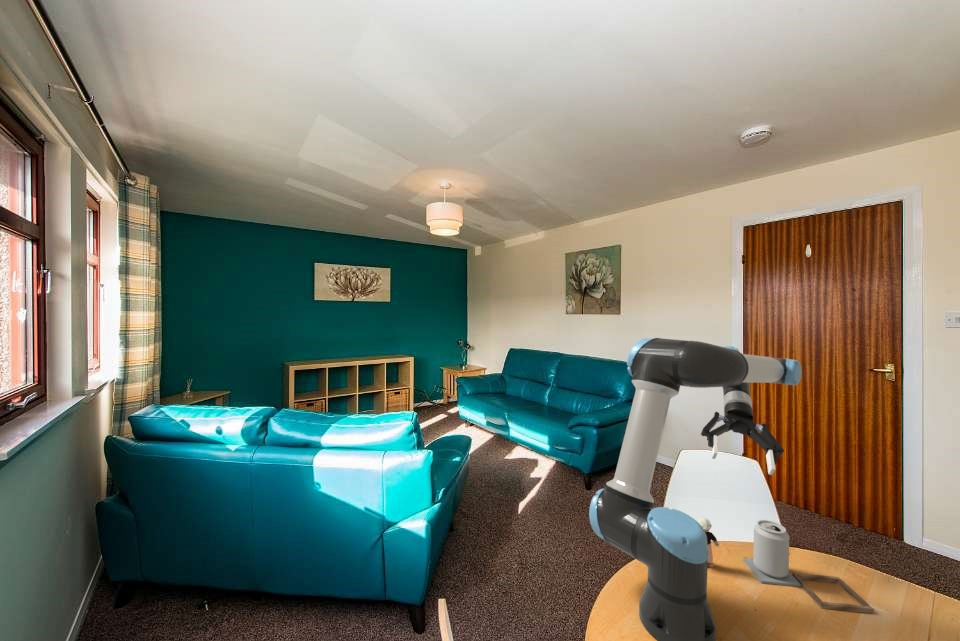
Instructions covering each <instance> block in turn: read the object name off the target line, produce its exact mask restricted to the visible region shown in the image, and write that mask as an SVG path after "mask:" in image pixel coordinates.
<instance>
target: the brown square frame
mask: <svg viewBox="0 0 960 641" xmlns="http://www.w3.org/2000/svg"><path fill="white" fill-rule="evenodd" d="M791 574H792V575H793V576H794V577H795V579H796V580H797V581H798V582H799V583H800V584H801V588H802V589H803V590H804V591H805V593H806V594H808V595H809V597H811V599H812V600H813V601H814V602H815V603H816V604H817V605H818V606H819V607H820V608H821V609H828V610H837V611H838V610H839V611H848V612H856V613H857V612H858V613H867V614H868V613H869V614H875V612H874V611H875V608H874V607H872V606H871V605H870V604H869V603H868V602H867V601H866V600H864V598H862V597H861V596H860V595H859V594H858V593H857V592H856V591H855V590H854V589H853V588H852V587H850V586H849V585H848V584H847V583H846V582H845V581H844V580H843V579H842V578H841V577H839V576H833V575H821V574H812V573H811V574H810V573H798V572H792V573H791ZM805 580H807V581H813V582H814V581H817V582H827V583H836V584H838V585H839V586H840V587H842V588H843V589H844V590H845V591H846V592H847V593H848V594H849V595H850V596H851V597H852V598H853V600H855V601H856V602H857V603H858V604H850V603H839V602H833V601H832V602H831V601H823V600H822V599H821V598H820V597H819V596H818V595H817V594H816V593H815V592H814V590H812V588H811V587H810V586H809V585H808V584H807V583H806V582H805Z"/></svg>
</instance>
